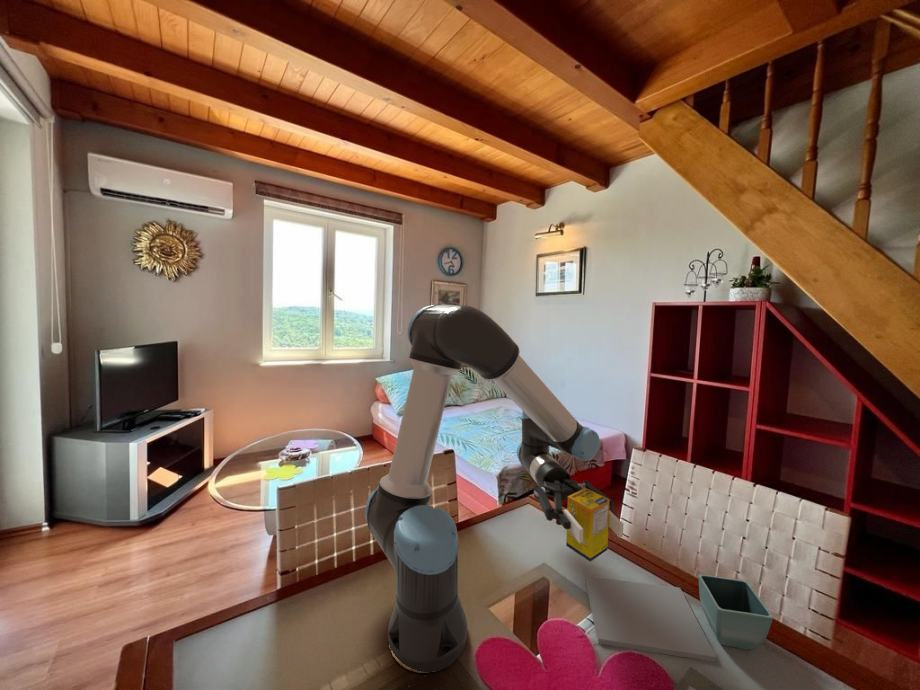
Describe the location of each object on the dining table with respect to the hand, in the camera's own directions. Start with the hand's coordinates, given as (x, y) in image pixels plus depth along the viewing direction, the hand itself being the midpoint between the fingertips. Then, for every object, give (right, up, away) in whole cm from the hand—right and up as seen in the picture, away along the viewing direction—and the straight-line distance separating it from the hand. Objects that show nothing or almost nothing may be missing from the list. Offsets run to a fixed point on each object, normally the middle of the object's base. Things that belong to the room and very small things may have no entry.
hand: (601, 533), depth 69 cm
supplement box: (-1, -6, +6) cm, 8 cm away
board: (+11, -20, +6) cm, 23 cm away
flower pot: (+25, -21, +1) cm, 33 cm away
